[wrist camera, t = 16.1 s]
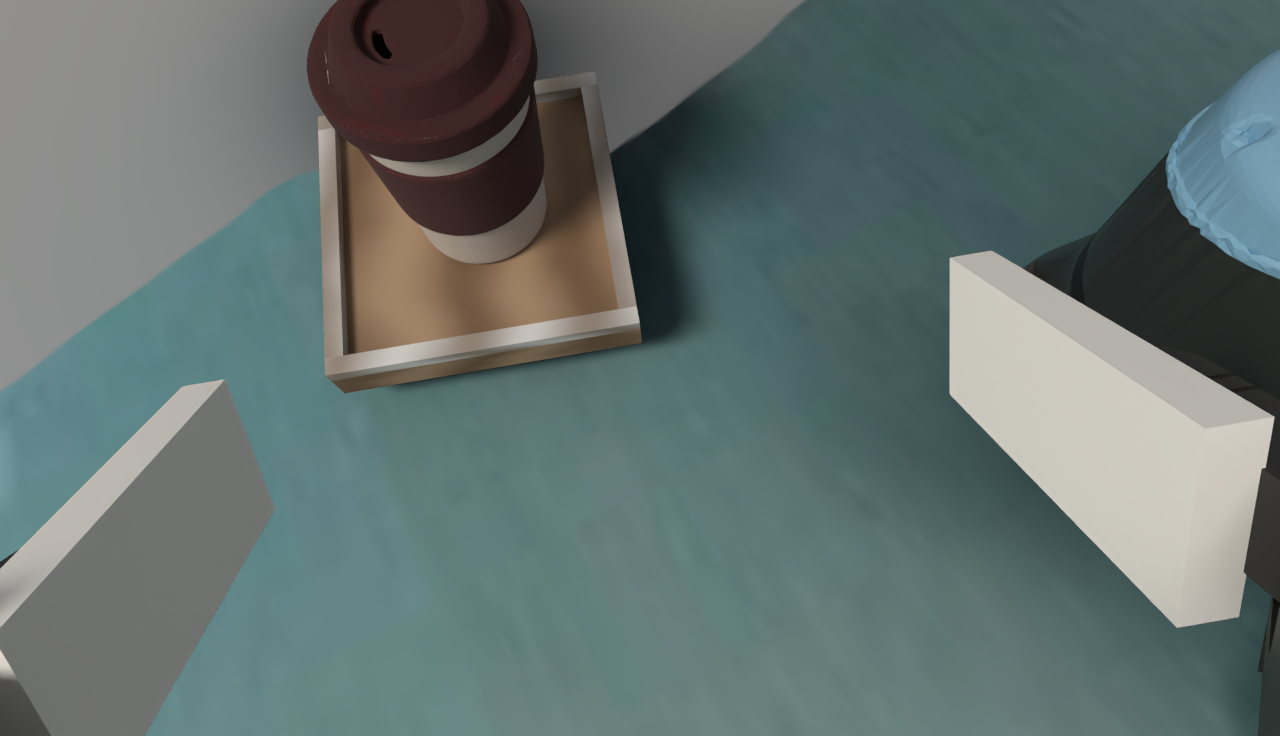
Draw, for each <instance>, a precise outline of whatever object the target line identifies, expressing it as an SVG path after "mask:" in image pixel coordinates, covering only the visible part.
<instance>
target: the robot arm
mask: <svg viewBox="0 0 1280 736" xmlns="http://www.w3.org/2000/svg"><path fill="white" fill-rule="evenodd" d="M950 395H951V396H952V397H953V398H954V399H955V400H956V401H957V402H958V403H959V404H960V405H961V406H962V407H963V408H964V409H965V411H966V412H967V413H968V414H969V415H970V416H971V417H972V418H973V419H974V420H975V421H976V422H977V423H978V424H979V425H980V426H981V427H982V428H983V429H984V430H985V431H986V432H987V433H988V434H989V435H990V436H991V437H992V438H993V439H994V440H995V441H996V442H997V443H998V444H999V445H1000V446H1001V447H1002V449H1003V450H1004V451H1005V452H1006V453H1007V454H1008V455H1009V456H1010V457H1011V458H1012V459H1013V460H1014V461H1015V462H1016V463H1017V464H1018V465H1019V466H1020V467H1021V468H1022V469H1023V470H1024V471H1025V472H1026V473H1027V474H1028V475H1029V476H1030V477H1031V478H1032V479H1033V480H1034V481H1035V482H1036V483H1037V484H1038V486H1039V487H1040V488H1041V489H1042V490H1043V491H1044V492H1045V493H1046V494H1047V495H1048V496H1049V497H1050V498H1051V499H1052V500H1053V501H1054V502H1055V503H1056V504H1057V505H1058V506H1059V507H1060V508H1061V509H1062V510H1063V511H1064V512H1065V513H1066V514H1067V515H1068V516H1069V517H1070V518H1071V519H1072V520H1073V521H1074V522H1075V524H1076V525H1077V526H1078V527H1079V528H1080V529H1081V530H1082V531H1083V532H1084V533H1085V534H1086V535H1087V536H1088V537H1089V538H1090V539H1091V540H1092V541H1093V542H1094V543H1095V544H1096V545H1097V546H1098V547H1099V548H1100V549H1101V550H1102V551H1103V552H1104V553H1105V554H1106V555H1107V556H1108V557H1109V558H1110V559H1111V561H1112V562H1113V563H1114V564H1115V565H1116V566H1117V567H1118V568H1119V569H1120V570H1121V571H1122V572H1123V573H1124V574H1125V575H1126V576H1127V577H1128V578H1129V579H1130V580H1131V581H1132V582H1133V583H1134V584H1135V585H1136V586H1137V587H1138V588H1139V589H1140V590H1141V591H1142V592H1143V593H1144V594H1145V595H1146V596H1147V597H1148V599H1149V600H1150V601H1151V602H1152V603H1153V604H1154V605H1155V606H1156V607H1157V608H1158V609H1159V610H1160V611H1161V612H1162V613H1163V614H1164V615H1165V616H1166V617H1167V618H1168V619H1169V620H1170V621H1171V622H1172V623H1173V624H1174V625H1175V626H1176V627H1177V628H1179V627H1184V626H1190V625H1196V624H1202V623H1207V622H1213V621H1219V620H1225V619H1230V618H1236V617H1239V613H1240V608H1241V602H1242V597H1243V591H1244V586H1245V580H1246V575H1247V576H1248V577H1250V578H1251V579H1252V580H1253V581H1254V582H1256V583H1257V584H1258V585H1259V586H1260V587H1261V588H1263V589H1264V590H1265V591H1266V592H1267V593H1269V594H1270V595H1271V596H1272V601H1271V606H1270V611H1269V616H1268V621H1267V626H1266V631H1265V636H1264V641H1263V646H1262V651H1261V656H1260V661H1259V667H1258V671H1259V672H1263V679H1262V691H1261V703H1260V715H1259V727H1258V736H1280V49H1279V50H1277V51H1275V52H1274V53H1272V54H1270V55H1269V56H1267V57H1266V58H1264V59H1263V60H1261V61H1260V62H1258V63H1257V64H1256V65H1254V66H1253V67H1252V68H1251V69H1249V70H1248V71H1247V72H1246V73H1245V74H1244V75H1243V76H1242V77H1241V78H1240V79H1239V80H1238V81H1237V82H1236V83H1235V84H1234V85H1232V86H1231V87H1230V88H1229V89H1228V90H1227V91H1226V92H1225V93H1224V94H1223V95H1222V96H1221V97H1220V98H1219V99H1218V100H1217V101H1216V102H1214V103H1212V104H1211V105H1209V106H1207V107H1206V108H1205V109H1203V110H1202V111H1200V112H1199V113H1198V114H1197V115H1195V116H1194V117H1193V118H1192V119H1191V120H1190V121H1189V122H1188V123H1187V124H1186V125H1185V126H1184V128H1183V129H1182V130H1181V131H1180V133H1179V135H1178V138H1177V140H1176V141H1175V143H1174V144H1173V145H1172V147H1171V149H1170V151H1169V152H1168V153H1167V154H1166V155H1165V156H1164V158H1163V159H1162V160H1161V161H1160V162H1159V163H1158V164H1157V165H1156V167H1155V168H1154V169H1153V170H1152V171H1151V172H1150V173H1149V174H1148V176H1147V177H1146V178H1145V179H1144V180H1143V181H1142V182H1141V183H1140V185H1139V186H1138V187H1137V188H1136V189H1135V190H1134V191H1133V192H1132V194H1131V195H1130V196H1129V197H1128V198H1127V199H1126V200H1125V201H1124V203H1123V204H1122V205H1121V206H1120V207H1119V208H1118V209H1117V210H1116V211H1115V213H1114V214H1113V215H1112V216H1111V217H1110V218H1109V219H1108V220H1107V221H1106V222H1105V224H1104V225H1103V226H1102V227H1101V228H1100V229H1099V230H1098V232H1096V233H1094V234H1091V235H1089V236H1086V237H1084V238H1081V239H1079V240H1076V241H1074V242H1071V243H1069V244H1066V245H1064V246H1061V247H1059V248H1056V249H1054V250H1052V251H1049V252H1047V253H1046V254H1044V255H1042V256H1040V257H1039V258H1037V259H1036V260H1034V261H1033V262H1031V263H1030V264H1029V265H1027V266H1026V267H1025V268H1023V269H1022V268H1020V267H1019V266H1017V265H1015V264H1014V263H1012V262H1010V261H1008V260H1007V259H1005V258H1003V257H1002V256H1000V255H998V254H997V253H995V252H993V251H987V252H981V253H975V254H969V255H963V256H957V257H951V258H950ZM274 510H275V507H274V505H273V502H272V500H271V497H270V494H269V492H268V489H267V487H266V484H265V481H264V479H263V476H262V474H261V471H260V469H259V466H258V463H257V461H256V458H255V456H254V453H253V450H252V448H251V445H250V443H249V440H248V437H247V435H246V432H245V430H244V427H243V424H242V422H241V419H240V417H239V414H238V412H237V409H236V406H235V404H234V401H233V399H232V396H231V393H230V391H229V388H228V386H227V383H226V380H225V379H224V380H218V381H213V382H207V383H201V384H195V385H189V386H183V387H181V388H180V389H179V390H178V391H177V392H176V393H175V394H174V395H173V396H172V397H171V398H170V399H169V400H168V401H167V402H166V403H165V404H164V405H163V406H162V407H161V408H160V409H159V410H158V411H157V412H156V413H155V414H154V415H153V416H152V417H151V418H150V419H149V420H148V421H147V422H146V423H145V424H144V425H143V426H142V427H141V428H140V429H139V430H138V431H137V432H136V433H135V434H134V435H133V436H132V437H131V438H130V439H129V440H128V441H127V442H126V443H125V444H124V445H123V446H122V447H121V448H120V449H119V450H118V451H117V452H116V453H115V454H114V455H113V456H112V457H111V458H110V459H109V460H108V461H107V462H106V463H105V464H104V465H103V466H102V467H101V468H100V469H99V470H98V471H97V472H96V473H95V474H94V475H93V476H92V477H91V478H90V479H89V480H88V481H87V482H86V483H85V484H84V485H83V486H82V487H81V488H80V489H79V490H78V491H77V492H76V493H75V494H74V495H73V496H72V497H71V498H70V499H69V500H68V501H67V502H66V503H65V504H64V505H63V506H62V507H61V508H60V509H59V510H58V511H57V512H56V513H55V514H54V515H53V516H52V517H51V518H50V519H49V520H48V521H47V522H46V523H45V524H44V525H43V526H42V527H41V528H40V529H39V530H38V531H37V532H36V533H35V534H34V535H33V536H32V537H31V538H30V539H29V540H28V541H27V542H26V543H25V544H24V545H23V546H22V547H21V548H20V549H19V550H17V551H16V552H14V553H13V554H11V555H10V556H8V557H7V558H5V559H4V560H2V561H1V562H0V736H145V734H146V732H147V730H148V729H149V727H150V725H151V724H152V722H153V720H154V718H155V717H156V715H157V713H158V711H159V710H160V708H161V706H162V704H163V703H164V701H165V699H166V697H167V696H168V694H169V692H170V691H171V689H172V687H173V685H174V684H175V682H176V680H177V678H178V677H179V675H180V673H181V671H182V670H183V668H184V666H185V664H186V663H187V661H188V659H189V658H190V656H191V654H192V652H193V651H194V649H195V647H196V645H197V644H198V642H199V640H200V638H201V637H202V635H203V633H204V632H205V630H206V628H207V626H208V625H209V623H210V621H211V619H212V618H213V616H214V614H215V612H216V611H217V609H218V607H219V605H220V604H221V602H222V600H223V599H224V597H225V595H226V593H227V592H228V590H229V588H230V586H231V585H232V583H233V581H234V579H235V578H236V576H237V574H238V572H239V571H240V569H241V567H242V566H243V564H244V562H245V560H246V559H247V557H248V555H249V553H250V552H251V550H252V548H253V546H254V545H255V543H256V541H257V539H258V538H259V536H260V534H261V533H262V531H263V529H264V527H265V526H266V524H267V522H268V520H269V519H270V517H271V515H272V513H273V512H274Z"/></svg>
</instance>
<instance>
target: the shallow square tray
mask: <svg viewBox="0 0 1280 736" xmlns="http://www.w3.org/2000/svg"><path fill="white" fill-rule="evenodd" d="M534 89H535V96H536V103H537V110H538V117H539V124H540V131H541V138H542V145H543V152H544V174H543V179H544V185H545V192H546V200H547V206H546V213H545V218H544V221H543V224H542V226H541V228H540V230H539V232H538V233H537V235H536V236H535V237H534V239H533V240H532V241H531V242H530V243H529V244H528V245H527V246H526V247H525V248H523V249H522V250H521V251H519V252H518V253H516V254H515V255H513V256H511V257H509V258H507V259H504V260H502V261H497V262H493V263H487V264H471V263H465V262H460V261H458V260H455V259H452V258H450V257H448V256H446V255H445V254H444V253H442V252H441V251H439V250H438V249H437V248H436V247H435V246H434V245H433V244H432V243H431V242H430V240H429V239H428V238H427V236H426V235H425V233H424V232H423V231H422V229H421V228H420V226H419V225H418V224H417V223H416V222H415V221H414V220H412V219H411V218H410V217H409V216H408V215H407V214H406V213H405V212H404V211H403V209H402V208H401V207H400V206H399V204H398V203H397V201H396V200H395V199H394V197H393V196H392V195H391V193H390V192H389V190H388V189H387V188H386V186H385V185H384V184H383V182H382V181H381V179H380V178H379V177H378V175H377V174H376V173H375V171H374V170H373V168H372V167H371V166H370V164H369V163H368V162H367V160H366V159H365V158H364V156H363V155H362V153H361V152H360V150H359V149H358V148H356V147H355V146H353V145H352V144H350V143H349V142H348V141H346V140H345V139H344V138H343V137H341V136H340V135H339V134H338V133H337V131H336V130H335V129H334V128H333V127H332V125H331V124H330V123H329V121H328V120H327V118H326V116H321V117H318V133H319V135H318V136H319V172H320V208H321V244H322V280H323V316H324V352H325V376H326V377H327V378H328V379H329V380H330V381H332V382H333V383H334V384H335V385H336V386H337V387H338V388H340V389H341V390H342V391H343V392H344V393H349V392H354V391H360V390H366V389H372V388H378V387H384V386H390V385H396V384H402V383H408V382H414V381H420V380H426V379H431V378H437V377H443V376H449V375H455V374H461V373H467V372H473V371H479V370H485V369H491V368H497V367H503V366H509V365H514V364H520V363H526V362H532V361H538V360H544V359H550V358H556V357H562V356H568V355H574V354H580V353H586V352H591V351H597V350H603V349H609V348H615V347H621V346H627V345H633V344H639V343H642V338H641V330H640V322H639V316H638V311H637V305H636V299H635V294H634V288H633V282H632V277H631V271H630V266H629V260H628V254H627V249H626V243H625V237H624V232H623V226H622V221H621V215H620V209H619V204H618V198H617V192H616V187H615V181H614V176H613V170H612V164H611V159H610V153H609V147H608V142H607V136H606V131H605V125H604V119H603V114H602V108H601V102H600V97H599V91H598V86H597V80H596V74H595V71H594V72H588V73H582V74H576V75H570V76H563V77H558V78H551V79H545V80H539V81H535V82H534Z"/></svg>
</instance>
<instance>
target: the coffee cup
mask: <svg viewBox="0 0 1280 736" xmlns="http://www.w3.org/2000/svg"><path fill="white" fill-rule="evenodd" d="M536 72H537V49H536V44H535V40H534V35H533V31H532V26H531V23H530V20H529V17H528V14H527V12H526V10H525V8H524V7H523V5H522V4H521V2H520V1H519V0H338V1H337V2H336V3H335V4H334V5H333V6H332V7H331V8H330V9H329V10H328V12H327V13H326V14H325V15H324V17H323V18H322V20H321V21H320V23H319V25H318V26H317V28H316V31H315V33H314V35H313V38H312V41H311V43H310V47H309V51H308V57H307V74H308V80H309V85H310V88H311V91H312V93H313V96H314V98H315V100H316V101H317V103H318V105H319V106H320V108H321V110H322V111H323V113H324V115H325V116H326V118H327V120H328V121H329V123H330V124H331V125H332V127H333V128H334V129H335V130H336V131H337V133H338V134H339V135H340V136H341V137H343V138H344V139H345V140H346V141H348V142H349V143H350V144H352V145H353V146H355V147H356V148H358V149H359V150H360V152H361V153H362V155H363V156H364V158H365V159H366V160H367V162H368V163H369V164H370V166H371V167H372V168H373V170H374V171H375V173H376V174H377V175H378V177H379V178H380V179H381V181H382V182H383V184H384V185H385V186H386V188H387V189H388V190H389V192H390V193H391V195H392V196H393V197H394V199H395V200H396V201H397V203H398V204H399V206H400V207H401V208H402V209H403V211H404V212H405V213H406V214H407V215H408V216H409V217H410V218H411V219H412V220H414V221H415V222H416V223H417V224H418V225H419V226H420V228H421V229H422V231H423V232H424V233H425V235H426V236H427V238H428V239H429V240H430V242H431V243H432V244H433V245H434V246H435V247H436V248H437V249H438V250H439V251H441V252H442V253H444V254H445V255H446V256H448V257H450V258H452V259H455V260H458V261H460V262H465V263H471V264H487V263H493V262H497V261H502V260H504V259H507V258H509V257H511V256H513V255H515V254H516V253H518V252H519V251H521V250H522V249H523V248H525V247H526V246H527V245H528V244H529V243H530V242H531V241H532V240H533V239H534V237H535V236H536V235H537V233H538V232H539V230H540V228H541V226H542V224H543V221H544V218H545V213H546V206H547V200H546V192H545V185H544V179H543V174H544V152H543V145H542V138H541V131H540V124H539V117H538V110H537V103H536V96H535V89H534V82H535V78H536Z"/></svg>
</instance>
